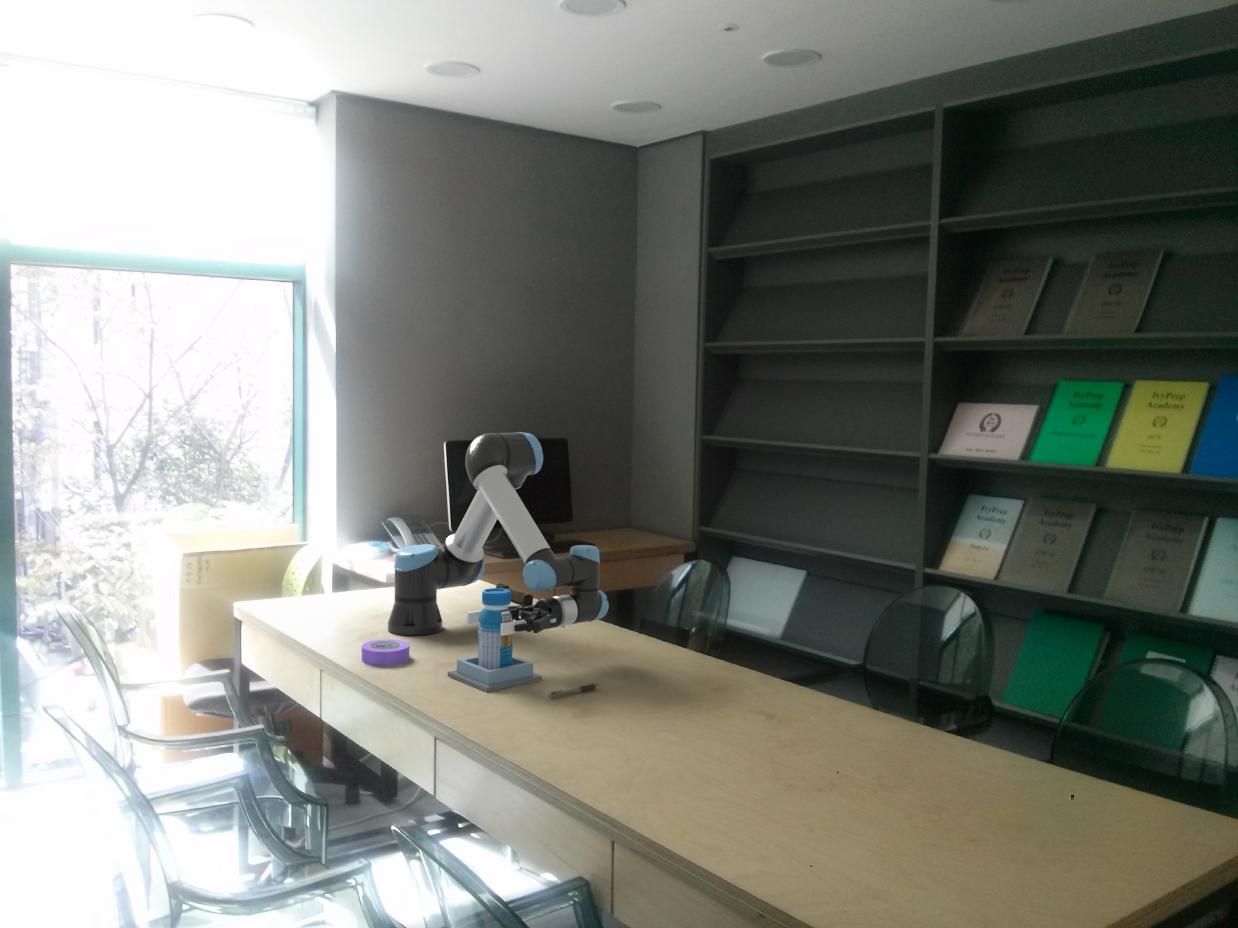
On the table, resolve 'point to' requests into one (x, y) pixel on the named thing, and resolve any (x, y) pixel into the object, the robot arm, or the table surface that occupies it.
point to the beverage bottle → (494, 630)
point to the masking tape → (385, 652)
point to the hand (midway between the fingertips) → (484, 623)
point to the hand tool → (518, 595)
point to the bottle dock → (494, 674)
